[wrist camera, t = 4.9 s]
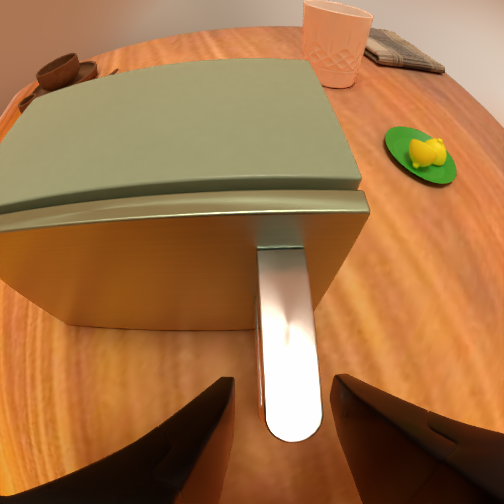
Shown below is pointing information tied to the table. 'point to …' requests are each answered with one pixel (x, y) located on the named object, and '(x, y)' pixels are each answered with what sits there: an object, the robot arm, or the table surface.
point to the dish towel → (398, 52)
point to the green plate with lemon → (421, 154)
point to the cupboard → (177, 135)
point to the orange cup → (334, 40)
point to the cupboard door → (198, 274)
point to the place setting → (61, 76)
